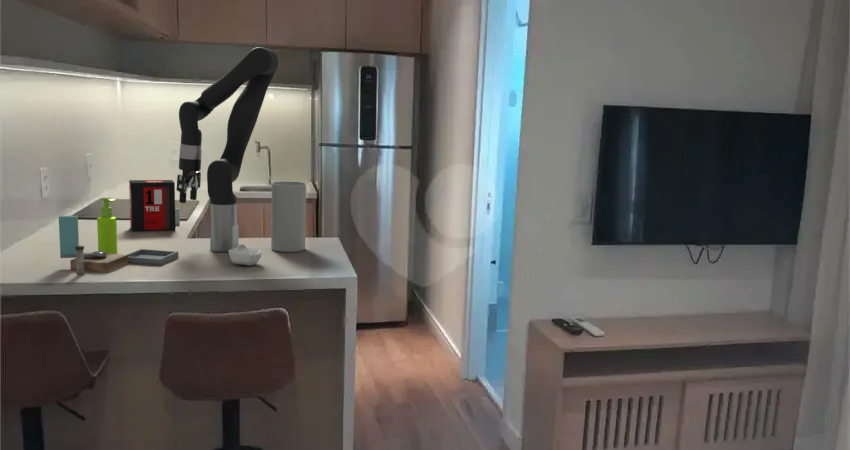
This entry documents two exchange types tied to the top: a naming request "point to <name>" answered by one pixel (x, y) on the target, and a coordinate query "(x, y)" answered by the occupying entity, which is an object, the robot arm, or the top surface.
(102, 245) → the soap dispenser
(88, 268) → the crank base
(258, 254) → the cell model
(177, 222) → the right angle wall
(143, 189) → the cleaning product box
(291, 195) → the cylinder vase
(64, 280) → the top surface
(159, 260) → the tray
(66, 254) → the teal upright panel
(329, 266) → the top surface
